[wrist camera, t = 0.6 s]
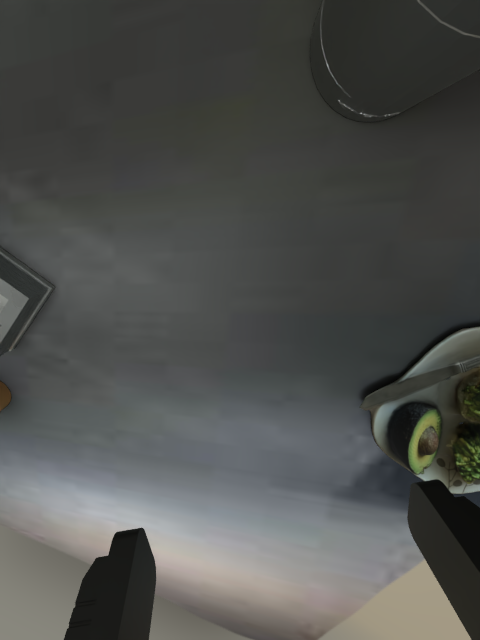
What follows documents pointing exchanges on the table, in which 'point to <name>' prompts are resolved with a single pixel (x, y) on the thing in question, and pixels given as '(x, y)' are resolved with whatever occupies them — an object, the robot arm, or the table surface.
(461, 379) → the salad plate
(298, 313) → the table surface
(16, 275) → the clear post on plate
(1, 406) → the tan rounded cylinder
